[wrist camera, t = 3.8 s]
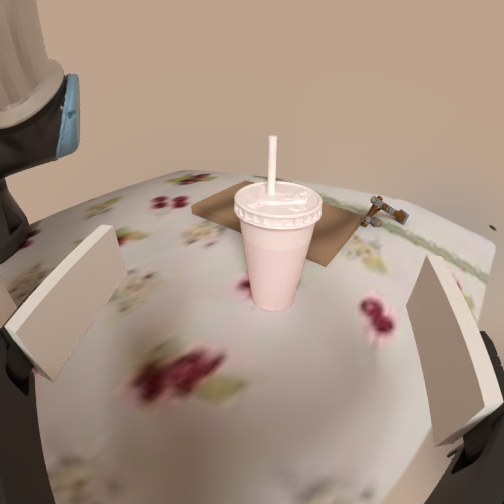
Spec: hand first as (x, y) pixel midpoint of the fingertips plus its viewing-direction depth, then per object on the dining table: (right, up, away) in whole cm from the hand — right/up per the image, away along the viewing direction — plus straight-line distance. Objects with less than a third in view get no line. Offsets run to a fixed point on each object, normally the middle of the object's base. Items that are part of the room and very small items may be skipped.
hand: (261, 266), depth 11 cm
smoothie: (+2, -4, +15) cm, 15 cm away
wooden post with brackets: (+18, +4, +26) cm, 32 cm away
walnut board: (+3, +5, +27) cm, 28 cm away
